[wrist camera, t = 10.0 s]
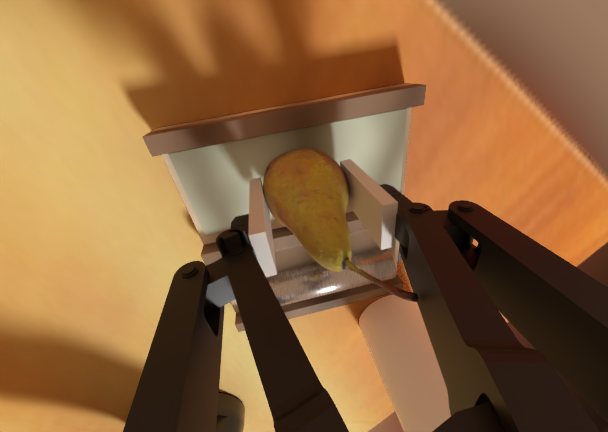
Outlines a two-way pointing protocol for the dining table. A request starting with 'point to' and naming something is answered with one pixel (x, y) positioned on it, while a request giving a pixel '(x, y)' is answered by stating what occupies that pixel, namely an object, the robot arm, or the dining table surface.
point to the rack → (280, 139)
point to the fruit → (316, 209)
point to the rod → (330, 277)
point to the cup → (406, 362)
